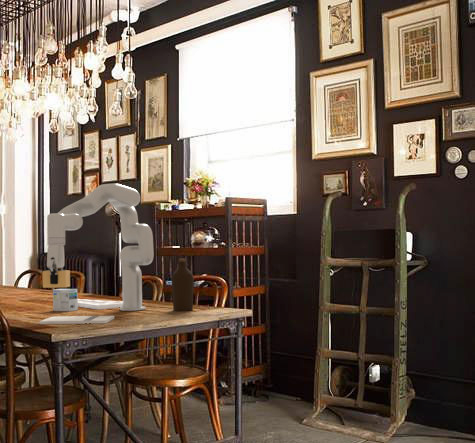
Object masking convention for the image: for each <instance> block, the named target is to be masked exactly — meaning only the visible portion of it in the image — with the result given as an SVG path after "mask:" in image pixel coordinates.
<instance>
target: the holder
mask: <svg viewBox="0 0 475 443" xmlns="http://www.w3.org/2000/svg"><path fill="white" fill-rule="evenodd" d="M79 307H80V308H86V309H90V310H91V309H92V310H97V311H99V310H107V309H109V310H111V309H118V308H119V307H123V300H122V301H115V300H102V299H86V298H85V299H84V298H83V299H82V298H78V308H79ZM119 309H120V308H119Z"/></svg>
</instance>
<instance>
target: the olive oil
mask: <svg viewBox="0 0 475 443" xmlns="http://www.w3.org/2000/svg"><path fill="white" fill-rule="evenodd" d="M194 282H195V279H194V275H193V273H192V271H191V270H190V269H189V268H188V267H187V262H186V258H179V259H178V267H177V268H176V269H175V271H174V272H173V273H172V275H171V289H172V291H171V292H172V305H173V306H172V307H173V311H175V312H187V311H188V312H189V311H193V310H194V306H193V305H194Z"/></svg>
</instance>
